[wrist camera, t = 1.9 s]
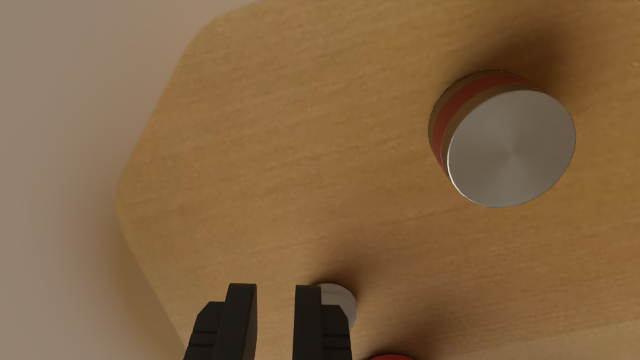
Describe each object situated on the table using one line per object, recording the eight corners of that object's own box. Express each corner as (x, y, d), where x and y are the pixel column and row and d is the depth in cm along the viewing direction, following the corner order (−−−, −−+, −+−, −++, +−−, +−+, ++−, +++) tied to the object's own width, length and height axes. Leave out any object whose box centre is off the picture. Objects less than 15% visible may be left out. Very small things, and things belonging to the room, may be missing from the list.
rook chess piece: (347, 273, 33) (356, 359, 26) (362, 315, 35) (375, 406, 28) (290, 287, 34) (285, 376, 27) (308, 329, 36) (308, 421, 29)
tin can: (407, 108, 28) (424, 134, 24) (515, 46, 26) (552, 62, 22) (454, 193, 30) (476, 229, 26) (554, 141, 29) (594, 170, 25)
